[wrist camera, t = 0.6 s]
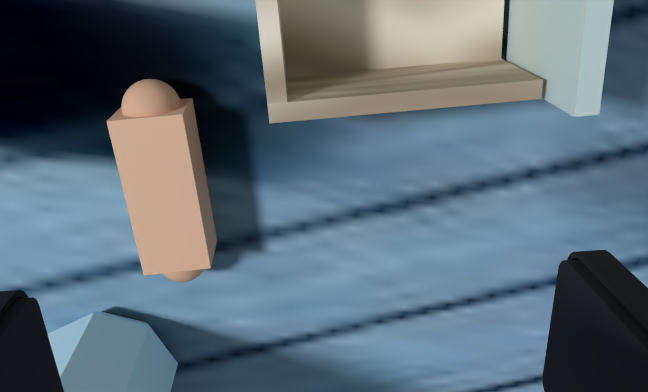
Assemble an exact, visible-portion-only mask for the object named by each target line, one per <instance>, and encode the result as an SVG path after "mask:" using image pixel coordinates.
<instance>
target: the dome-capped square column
mask: <svg viewBox="0 0 648 392" xmlns="http://www.w3.org/2000/svg"><path fill="white" fill-rule="evenodd" d="M107 125H108V129H109V133H110V137H111V142H112V146H113V150H114V154H115V158H116V162H117V166H118V171H119V175H120V179H121V183H122V187H123V191H124V195H125V199H126V204H127V208H128V212H129V216H130V220H131V224H132V228H133V233H134V237H135V241H136V245H137V249H138V253H139V257H140V262H141V266H142V270H143V274H144V275H151V274H160V273H162V274H163V275H164V276H165V277H167V278H169V279H170V280H173V281H177V282H186V281H190V280H193V279H195V278H197V277H198V276H199V275H200V274H201V273H202V272H203V271H204V270H205V269H210V268H211V265H212V261H213V257H214V252H215V248H216V243H217V237H216V231H215V225H214V219H213V214H212V208H211V202H210V197H209V191H208V185H207V179H206V174H205V168H204V162H203V157H202V151H201V145H200V139H199V134H198V128H197V122H196V117H195V111H194V105H193V99H192V98H187V99H180V98H179V96H178V94H177V93H176V91H175V90H174V89H173V88H172V87H171V86H170V85H168V84H167V83H165V82H163V81H160V80H156V79H145V80H141V81H138V82H136V83H135V84H133V85H132V86H131V87H129V89H128V90H127V91H126V93H125V94H124V97H123V100H122V107H121V108H120V109H119V110H118V111H117V112H116V113H115V114H114V115H113V116H112V117H111V118H110V119H108V120H107Z"/></svg>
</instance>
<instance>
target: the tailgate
mask: <svg viewBox="0 0 648 392" xmlns="http://www.w3.org/2000/svg"><path fill="white" fill-rule="evenodd" d="M613 3H614V0H510V7H509V25H508V42H507V60H506V61H507V62H509V63H511V64H513V65H515V66H517V67H519V68H521V69H523V70H525V71H527V72H529V73H531V74H533V75H535V76H537V77H539V78H541V79H543V86H542V97H541V98H542V99H544V100H546V101H548V102H549V103H551V104H553V105H555V106H556V107H558V108H560V109H561V110H563V111H565V112H567V113H568V114H570V115H572V116H574V117H578V116H589V115H599V112H600V104H601V97H602V89H603V81H604V73H605V65H606V58H607V50H608V42H609V34H610V26H611V19H612V11H613Z"/></svg>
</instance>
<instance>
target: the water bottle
mask: <svg viewBox="0 0 648 392" xmlns="http://www.w3.org/2000/svg"><path fill="white" fill-rule="evenodd" d="M48 338H49V341H50V345H51V348H52V352H53V355H54V358H55V362H56V365H57V369H58V372H59V376H60V379H61V383H62V386H63V389H64V392H171V389H172V385H173V381H174V377H175V373H176V369H177V365H178V363H177V362H176V360H175V359H174V358H173V356H172V355H171V354H170V352H169V351H168V350H167V348H166V347H165V346H164V344H163V343H162V342H161V340H160V339H159V338H158V336H157V335H156V334H155V332H154V331H153V330H152V328H151V327H150V326H149V325H148V324H147V323H146V322H143V321H139V320H134V319H130V318H126V317H122V316H118V315H114V314H109V313H105V312H94V313H92V314H89V315H87V316H85V317H83V318H81V319H78V320H76V321H74V322H72V323H70V324H68V325H65V326H63V327H61V328H59V329H57V330H55V331H52V332H50V333H48Z"/></svg>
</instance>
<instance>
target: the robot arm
mask: <svg viewBox="0 0 648 392" xmlns="http://www.w3.org/2000/svg"><path fill="white" fill-rule="evenodd" d="M543 387H544V391H545V392H648V288H647V287H646V286H645V285H644V284H643V283H642V282H641V281H639V280H638V279H637V278H636V277H635V276H634V275H633V274H632V273H631V272H630V271H629V270H628V269H627V268H626V267H624V266H623V265H622V264H621V263H620V262H619V261H618V260H617V259H616V258H615V257H614V256H613V255H612V254H610V253H609V252H608V251H606V250H595V251H581V252H573V253H571V254H570V255H569V257H568V260H565V261H562V262H561V263H560V265H559V269H558V275H557V282H556V289H555V296H554V302H553V309H552V316H551V323H550V330H549V337H548V343H547V350H546V357H545V364H544V371H543ZM0 392H64V389H63V386H62V383H61V379H60V376H59V372H58V369H57V365H56V362H55V358H54V355H53V352H52V348H51V345H50V341H49V338H48V334H47V331H46V328H45V324H44V321H43V317H42V314H41V310H40V307H39V304H38V302H37V300H36V299H35V298H28V296H27V294H26V293H25V292H24V291H21V290H15V291H1V292H0Z"/></svg>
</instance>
